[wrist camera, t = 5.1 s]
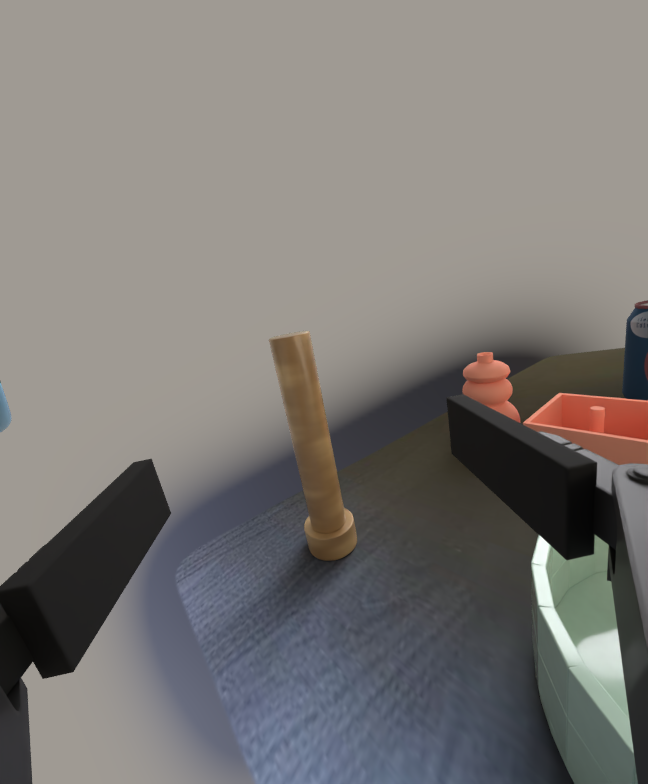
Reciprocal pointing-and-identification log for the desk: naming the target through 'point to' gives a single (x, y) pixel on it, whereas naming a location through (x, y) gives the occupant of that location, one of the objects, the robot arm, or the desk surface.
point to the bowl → (581, 664)
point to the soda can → (636, 354)
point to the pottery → (568, 414)
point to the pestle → (312, 447)
